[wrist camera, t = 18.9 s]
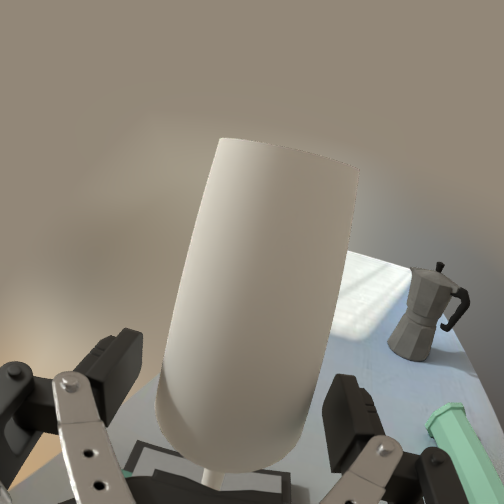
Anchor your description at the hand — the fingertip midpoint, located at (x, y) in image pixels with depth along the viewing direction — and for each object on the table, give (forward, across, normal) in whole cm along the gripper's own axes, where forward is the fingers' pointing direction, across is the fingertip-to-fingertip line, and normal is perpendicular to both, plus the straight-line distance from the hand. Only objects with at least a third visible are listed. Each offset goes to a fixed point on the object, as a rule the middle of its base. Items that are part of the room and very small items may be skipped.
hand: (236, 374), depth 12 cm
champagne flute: (0, 0, -16) cm, 16 cm away
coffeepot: (+38, +33, -18) cm, 54 cm away
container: (+3, +28, -18) cm, 33 cm away
